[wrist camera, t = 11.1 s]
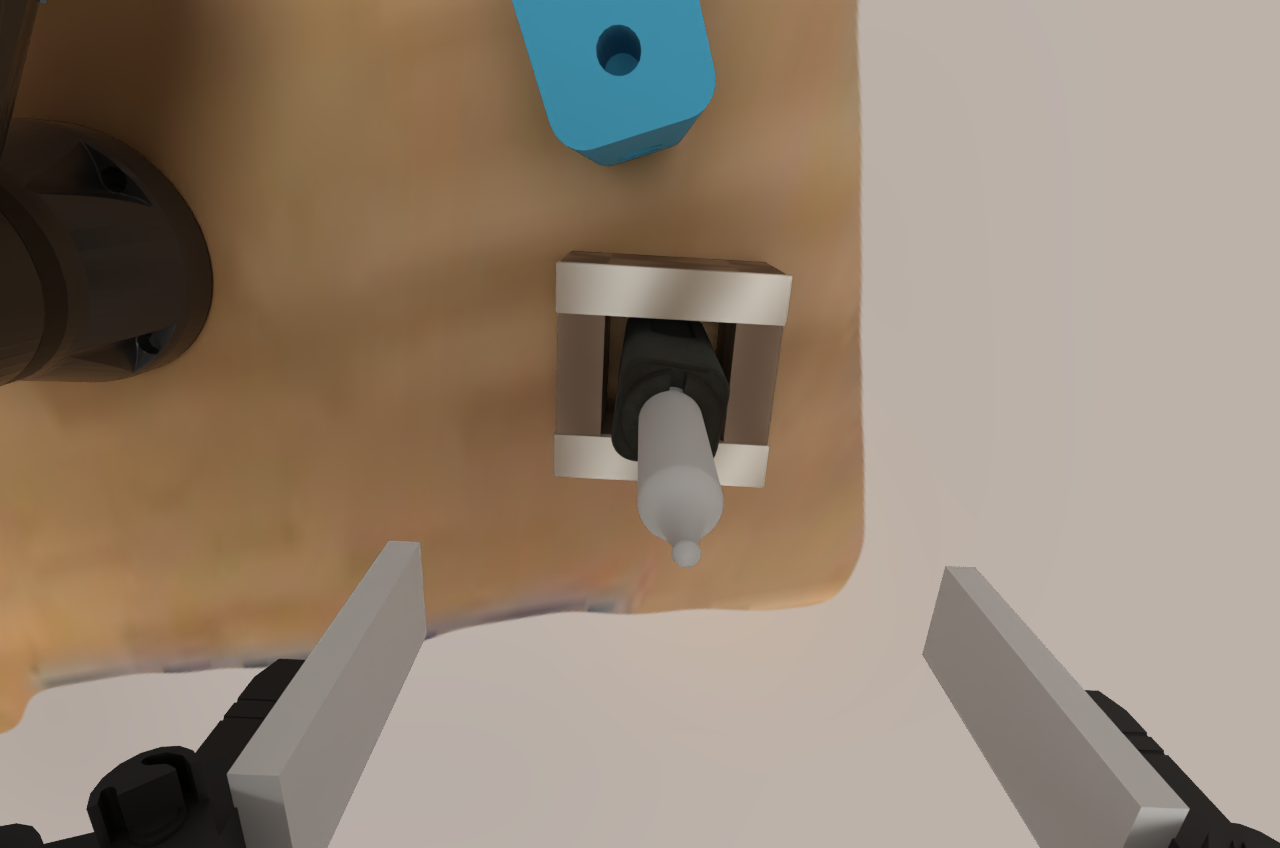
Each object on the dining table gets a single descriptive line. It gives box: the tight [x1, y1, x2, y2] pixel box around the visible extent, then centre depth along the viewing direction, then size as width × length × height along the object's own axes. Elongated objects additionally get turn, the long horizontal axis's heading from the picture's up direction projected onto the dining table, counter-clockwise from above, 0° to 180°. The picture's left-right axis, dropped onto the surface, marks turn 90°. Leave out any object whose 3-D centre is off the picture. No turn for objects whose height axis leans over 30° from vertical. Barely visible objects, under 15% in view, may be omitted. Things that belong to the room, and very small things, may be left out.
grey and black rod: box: [611, 317, 730, 567], centre depth 30 cm, size 5×5×25 cm
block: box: [512, 0, 716, 166], centre depth 26 cm, size 12×5×20 cm, turn 16°
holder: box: [554, 251, 792, 488], centre depth 38 cm, size 12×12×7 cm
